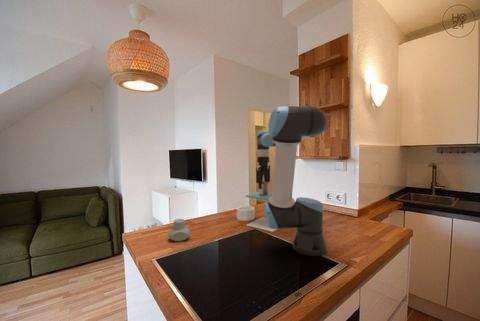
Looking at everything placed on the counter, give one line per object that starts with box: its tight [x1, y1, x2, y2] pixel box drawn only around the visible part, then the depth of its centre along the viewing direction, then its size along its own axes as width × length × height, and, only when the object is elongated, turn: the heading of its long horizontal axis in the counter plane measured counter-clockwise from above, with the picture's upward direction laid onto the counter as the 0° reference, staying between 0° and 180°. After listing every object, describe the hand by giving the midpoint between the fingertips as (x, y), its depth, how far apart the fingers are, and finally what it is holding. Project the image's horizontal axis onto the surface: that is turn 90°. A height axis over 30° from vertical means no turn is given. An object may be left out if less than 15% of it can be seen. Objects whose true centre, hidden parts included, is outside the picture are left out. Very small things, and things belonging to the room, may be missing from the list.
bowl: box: [236, 205, 256, 222], centre depth 146 cm, size 12×12×7 cm
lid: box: [245, 180, 272, 201], centre depth 135 cm, size 16×16×9 cm
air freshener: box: [168, 218, 191, 242], centre depth 113 cm, size 11×8×10 cm
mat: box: [246, 216, 278, 232], centre depth 134 cm, size 19×19×1 cm
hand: (263, 193), depth 135 cm, fingers closed on lid, 5 cm apart
